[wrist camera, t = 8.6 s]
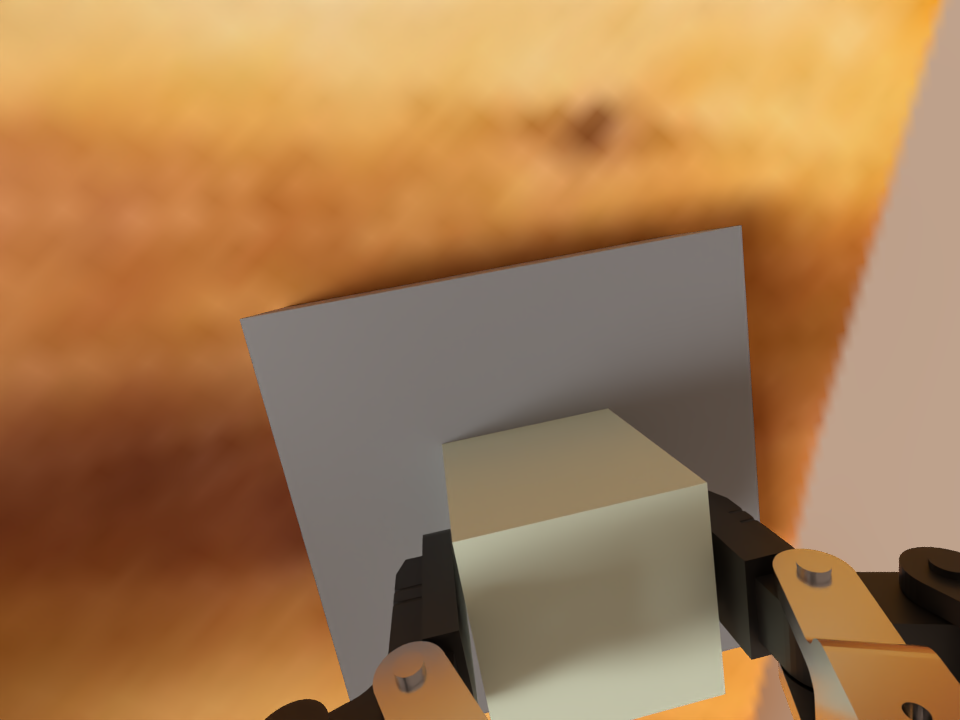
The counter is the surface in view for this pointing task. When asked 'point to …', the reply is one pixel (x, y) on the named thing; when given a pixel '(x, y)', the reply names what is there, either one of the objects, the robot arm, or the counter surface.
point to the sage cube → (584, 570)
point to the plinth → (493, 397)
